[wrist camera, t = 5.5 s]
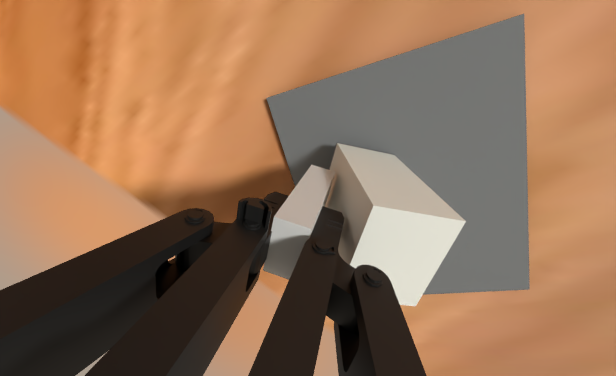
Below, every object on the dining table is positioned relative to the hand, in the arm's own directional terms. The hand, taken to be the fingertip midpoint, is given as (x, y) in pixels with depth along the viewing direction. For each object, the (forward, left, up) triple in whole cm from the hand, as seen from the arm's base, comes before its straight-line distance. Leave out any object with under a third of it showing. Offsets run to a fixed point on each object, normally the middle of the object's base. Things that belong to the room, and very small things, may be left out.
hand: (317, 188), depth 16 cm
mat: (+3, +5, -4) cm, 7 cm away
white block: (+1, +2, -3) cm, 4 cm away
